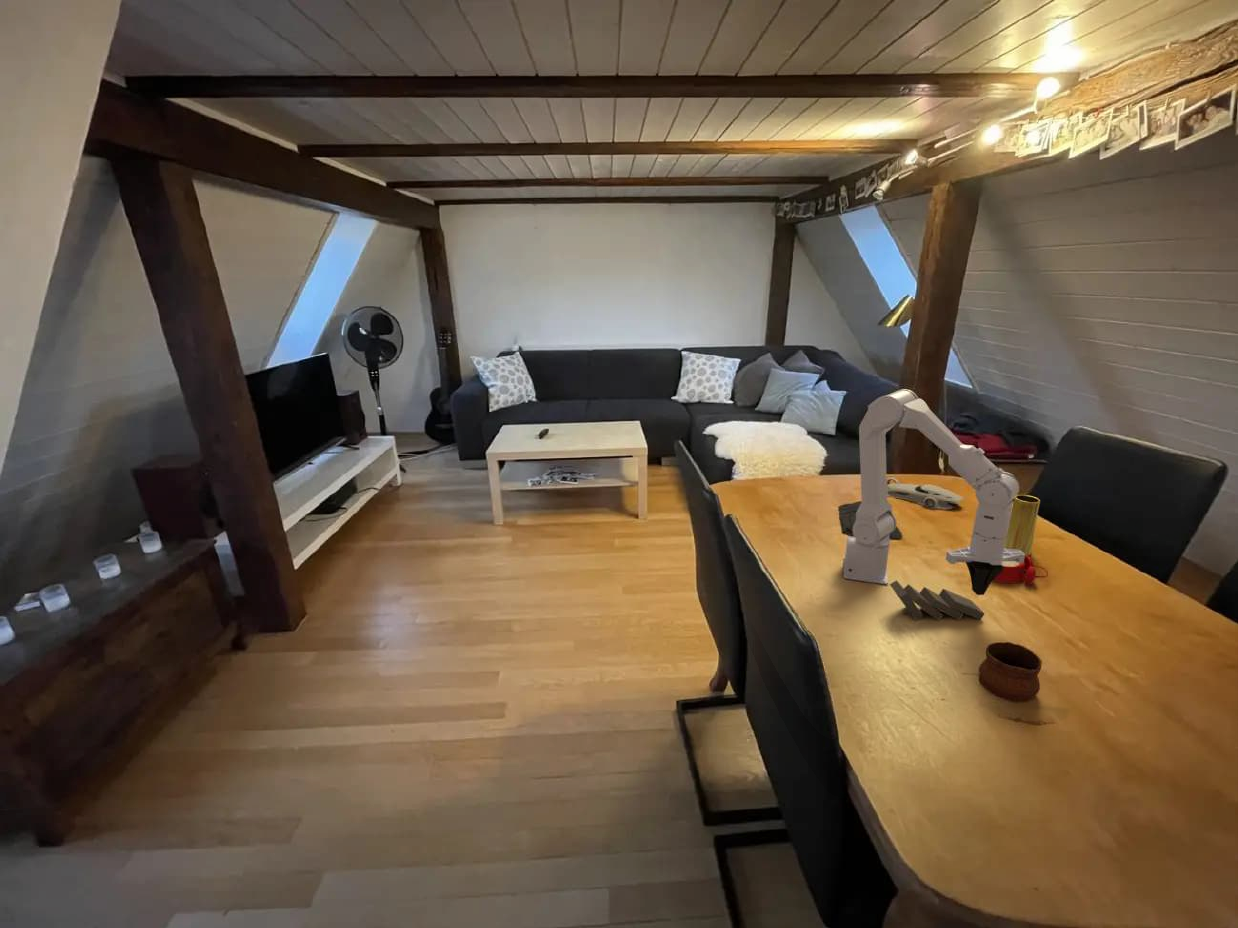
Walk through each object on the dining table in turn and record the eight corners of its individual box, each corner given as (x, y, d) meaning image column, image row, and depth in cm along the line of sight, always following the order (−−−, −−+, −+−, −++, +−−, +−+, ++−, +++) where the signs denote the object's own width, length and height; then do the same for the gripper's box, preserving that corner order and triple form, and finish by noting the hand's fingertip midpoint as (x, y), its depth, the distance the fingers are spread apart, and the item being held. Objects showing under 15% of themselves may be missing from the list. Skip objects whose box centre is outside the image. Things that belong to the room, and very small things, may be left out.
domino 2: (958, 620, 118) (931, 605, 117) (945, 606, 123) (919, 592, 122) (963, 614, 118) (936, 599, 117) (950, 601, 122) (924, 586, 121)
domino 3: (980, 619, 118) (951, 607, 117) (967, 606, 123) (938, 594, 122) (984, 613, 117) (955, 601, 117) (971, 600, 122) (943, 588, 121)
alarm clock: (967, 544, 141) (1042, 543, 134) (970, 567, 143) (1044, 567, 135) (970, 563, 133) (1050, 562, 125) (973, 588, 134) (1052, 588, 127)
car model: (885, 485, 191) (887, 471, 190) (966, 504, 174) (969, 488, 173) (871, 494, 184) (873, 479, 182) (954, 515, 167) (957, 499, 166)
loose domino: (916, 620, 118) (900, 597, 116) (905, 607, 123) (889, 584, 121) (923, 616, 118) (907, 593, 116) (912, 603, 123) (896, 580, 121)
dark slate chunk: (889, 510, 172) (891, 496, 170) (903, 543, 152) (905, 527, 150) (835, 507, 176) (836, 492, 174) (842, 538, 156) (843, 522, 154)
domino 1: (937, 620, 118) (914, 602, 117) (925, 607, 123) (902, 589, 122) (943, 615, 118) (919, 596, 116) (931, 601, 122) (908, 584, 121)
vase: (1004, 554, 143) (1015, 501, 139) (999, 543, 149) (1010, 492, 144) (1033, 557, 141) (1045, 504, 137) (1027, 547, 147) (1039, 495, 142)
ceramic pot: (1080, 740, 88) (1089, 702, 86) (948, 704, 96) (953, 669, 94) (1060, 672, 103) (1068, 638, 101) (947, 646, 111) (952, 615, 109)
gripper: (963, 542, 111) (952, 603, 115) (1040, 541, 110) (1026, 602, 115) (944, 527, 117) (935, 585, 122) (1016, 525, 117) (1004, 583, 121)
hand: (977, 592), depth 119 cm, fingers closed
